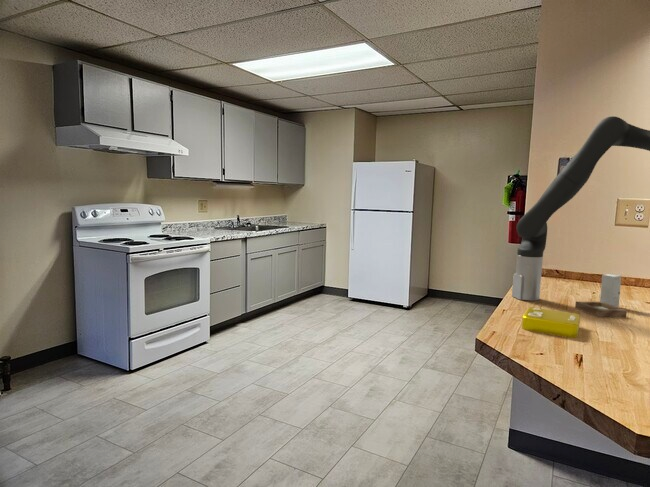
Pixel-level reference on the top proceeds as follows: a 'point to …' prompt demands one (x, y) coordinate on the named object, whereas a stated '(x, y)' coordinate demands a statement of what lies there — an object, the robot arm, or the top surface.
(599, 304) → the seat block
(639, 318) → the top surface
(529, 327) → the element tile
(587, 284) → the top surface
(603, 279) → the skincare box
